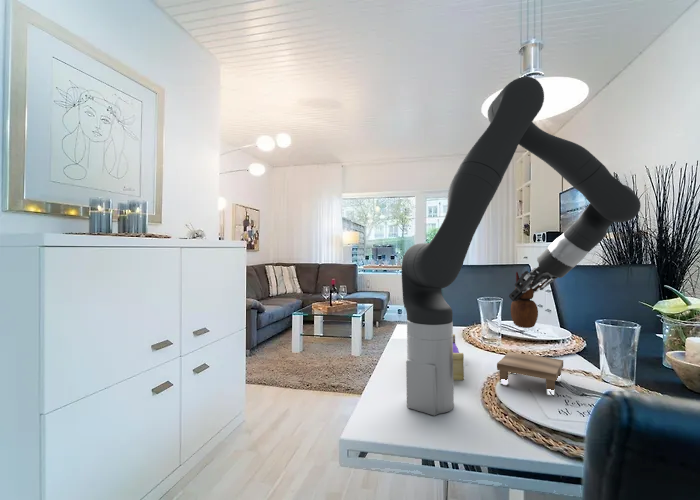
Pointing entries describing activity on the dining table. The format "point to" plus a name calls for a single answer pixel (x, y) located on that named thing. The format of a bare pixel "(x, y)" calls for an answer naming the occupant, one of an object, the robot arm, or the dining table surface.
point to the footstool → (531, 367)
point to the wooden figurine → (524, 309)
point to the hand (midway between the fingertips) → (517, 298)
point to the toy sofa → (457, 363)
